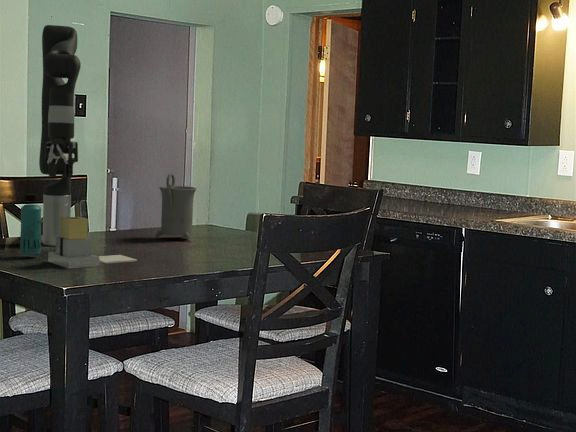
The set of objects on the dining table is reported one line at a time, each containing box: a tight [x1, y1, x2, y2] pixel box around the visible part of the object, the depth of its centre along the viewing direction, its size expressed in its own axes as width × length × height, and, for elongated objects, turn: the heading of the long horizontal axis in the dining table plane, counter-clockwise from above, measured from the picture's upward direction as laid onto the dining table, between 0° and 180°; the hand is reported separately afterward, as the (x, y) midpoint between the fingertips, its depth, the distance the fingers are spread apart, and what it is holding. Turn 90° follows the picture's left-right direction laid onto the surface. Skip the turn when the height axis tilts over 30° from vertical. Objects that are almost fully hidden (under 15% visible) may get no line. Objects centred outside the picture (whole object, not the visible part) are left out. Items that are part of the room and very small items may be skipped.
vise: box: [47, 237, 100, 269], centre depth 280 cm, size 14×10×13 cm
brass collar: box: [60, 216, 89, 240], centre depth 279 cm, size 6×6×6 cm
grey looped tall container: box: [153, 172, 197, 243], centre depth 342 cm, size 19×15×25 cm
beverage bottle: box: [19, 193, 43, 255], centre depth 288 cm, size 6×7×20 cm
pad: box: [98, 254, 138, 264], centre depth 291 cm, size 11×11×1 cm
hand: (60, 176), depth 273 cm, fingers open, 8 cm apart
